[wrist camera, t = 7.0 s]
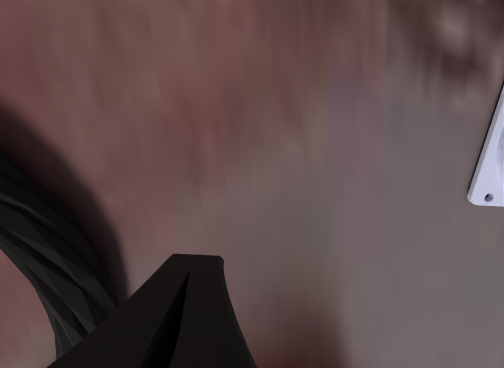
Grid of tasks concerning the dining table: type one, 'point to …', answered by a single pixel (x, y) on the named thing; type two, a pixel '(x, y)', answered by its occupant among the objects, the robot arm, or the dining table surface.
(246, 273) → the dining table surface
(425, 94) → the dining table surface
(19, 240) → the cable lock
